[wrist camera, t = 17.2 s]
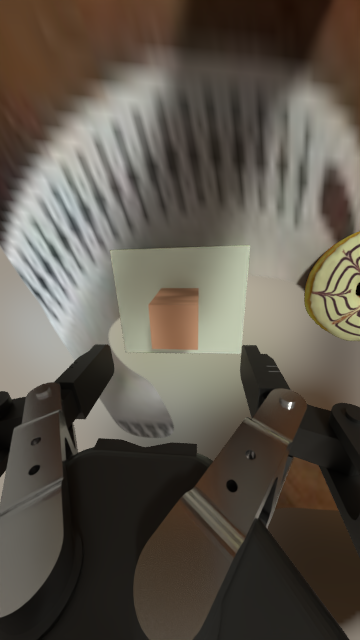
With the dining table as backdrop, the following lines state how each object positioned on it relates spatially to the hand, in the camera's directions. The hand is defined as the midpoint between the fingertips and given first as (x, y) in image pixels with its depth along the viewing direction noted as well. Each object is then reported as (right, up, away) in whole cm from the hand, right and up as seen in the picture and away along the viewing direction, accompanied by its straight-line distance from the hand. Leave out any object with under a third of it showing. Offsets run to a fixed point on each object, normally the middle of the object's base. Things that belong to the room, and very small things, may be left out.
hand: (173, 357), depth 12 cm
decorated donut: (+18, +6, +9) cm, 21 cm away
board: (0, +4, +11) cm, 12 cm away
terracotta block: (0, +4, +10) cm, 11 cm away
